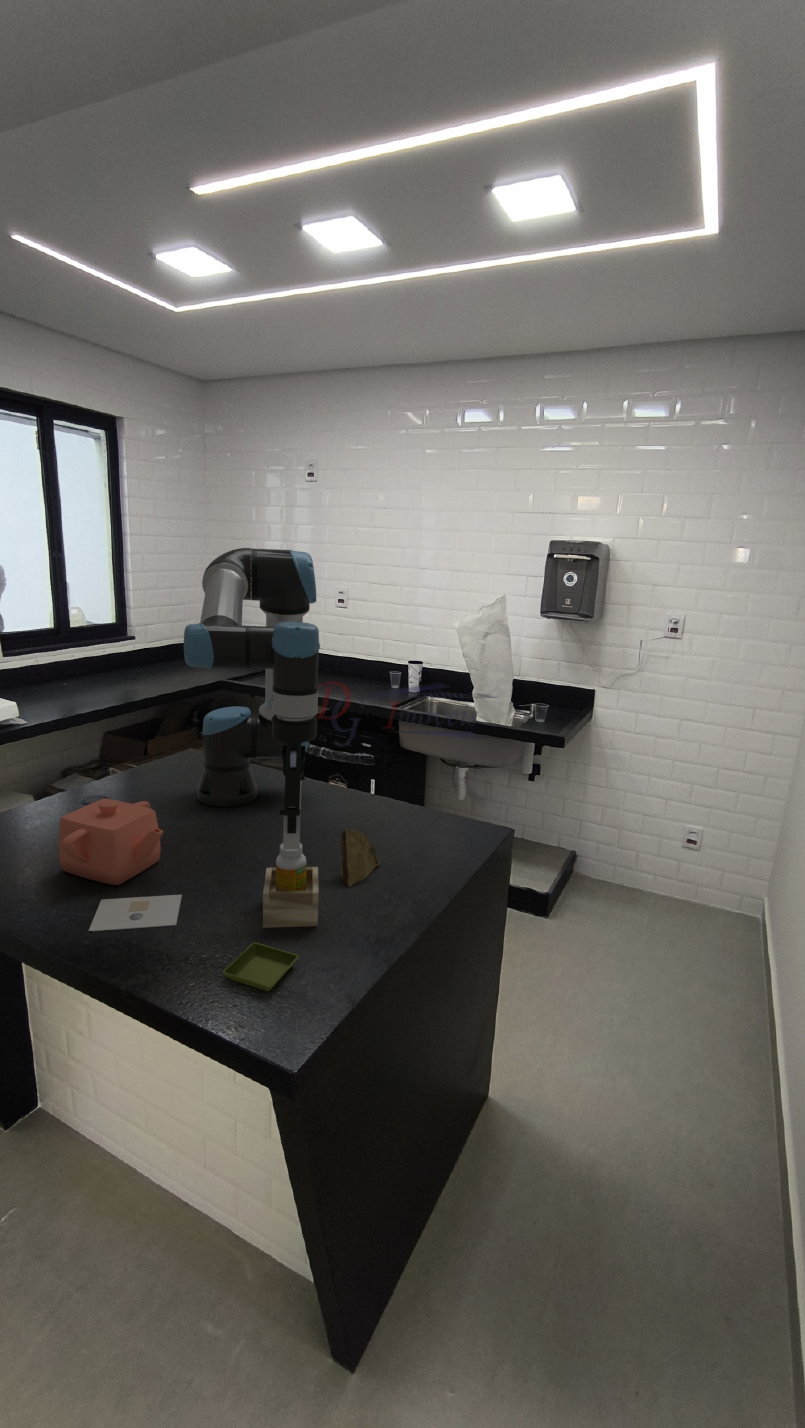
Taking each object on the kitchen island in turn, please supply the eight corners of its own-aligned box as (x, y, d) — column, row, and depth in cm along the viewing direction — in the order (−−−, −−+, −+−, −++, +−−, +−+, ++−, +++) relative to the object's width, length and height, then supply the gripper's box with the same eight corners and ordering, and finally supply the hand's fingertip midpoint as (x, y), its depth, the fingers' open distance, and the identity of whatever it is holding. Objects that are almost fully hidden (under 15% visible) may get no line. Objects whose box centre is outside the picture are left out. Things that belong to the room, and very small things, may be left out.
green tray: (221, 983, 98) (221, 971, 98) (253, 952, 106) (253, 941, 106) (270, 1000, 95) (270, 987, 95) (299, 966, 103) (300, 955, 103)
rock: (371, 845, 141) (329, 846, 136) (387, 826, 135) (343, 826, 130) (383, 892, 134) (339, 895, 130) (400, 873, 129) (354, 876, 124)
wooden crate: (266, 898, 121) (266, 867, 120) (317, 897, 123) (317, 866, 121) (262, 927, 112) (263, 894, 111) (317, 926, 114) (318, 893, 112)
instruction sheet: (101, 900, 118) (101, 899, 118) (181, 895, 121) (181, 894, 121) (88, 931, 108) (88, 930, 108) (176, 925, 111) (176, 924, 111)
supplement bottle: (298, 904, 114) (299, 854, 111) (270, 899, 115) (270, 849, 112) (310, 889, 119) (311, 841, 116) (283, 884, 120) (283, 836, 117)
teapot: (36, 883, 122) (30, 816, 118) (122, 838, 142) (119, 779, 139) (120, 908, 116) (116, 837, 112) (197, 857, 136) (196, 795, 132)
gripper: (275, 696, 120) (274, 802, 125) (267, 737, 96) (266, 865, 101) (316, 697, 121) (313, 802, 126) (317, 738, 97) (314, 864, 103)
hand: (292, 830), depth 114 cm, fingers open, 13 cm apart
